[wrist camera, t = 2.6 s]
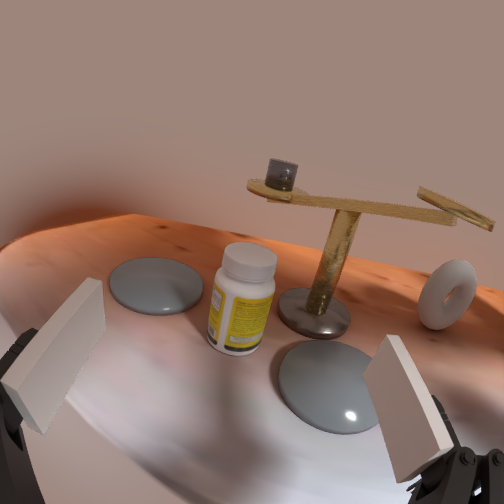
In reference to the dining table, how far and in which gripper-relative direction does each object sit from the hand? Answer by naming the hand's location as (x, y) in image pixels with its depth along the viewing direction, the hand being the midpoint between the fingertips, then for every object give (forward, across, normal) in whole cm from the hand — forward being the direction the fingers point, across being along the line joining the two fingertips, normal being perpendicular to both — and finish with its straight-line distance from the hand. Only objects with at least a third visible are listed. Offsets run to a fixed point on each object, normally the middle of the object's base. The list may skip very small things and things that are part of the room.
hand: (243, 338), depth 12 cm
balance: (+16, +9, -8) cm, 20 cm away
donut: (+16, +26, -9) cm, 32 cm away
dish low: (+16, -8, -9) cm, 20 cm away
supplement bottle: (+10, 0, -9) cm, 13 cm away
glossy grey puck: (+6, +9, -9) cm, 14 cm away
